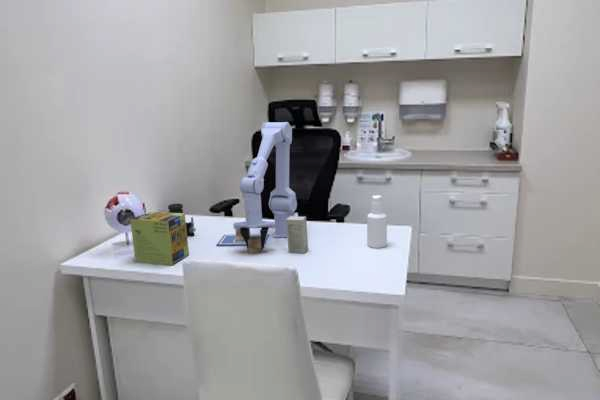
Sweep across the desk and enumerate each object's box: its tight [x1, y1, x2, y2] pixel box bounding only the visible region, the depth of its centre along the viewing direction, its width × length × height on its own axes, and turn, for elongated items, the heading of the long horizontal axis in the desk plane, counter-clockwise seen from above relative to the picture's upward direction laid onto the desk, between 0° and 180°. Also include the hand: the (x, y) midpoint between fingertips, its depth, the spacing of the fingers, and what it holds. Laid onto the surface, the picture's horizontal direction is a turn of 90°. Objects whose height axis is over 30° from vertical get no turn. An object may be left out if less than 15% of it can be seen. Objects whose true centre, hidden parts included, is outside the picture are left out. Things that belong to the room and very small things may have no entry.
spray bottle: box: [366, 195, 388, 249], centre depth 165 cm, size 7×7×18 cm
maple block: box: [234, 228, 251, 241], centre depth 177 cm, size 4×4×5 cm
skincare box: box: [286, 216, 309, 254], centre depth 163 cm, size 6×4×12 cm
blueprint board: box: [216, 233, 270, 247], centre depth 178 cm, size 18×12×1 cm, turn 85°
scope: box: [167, 203, 197, 238], centre depth 182 cm, size 8×14×10 cm
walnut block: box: [248, 236, 264, 255], centre depth 165 cm, size 4×4×5 cm
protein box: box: [129, 211, 190, 266], centre depth 161 cm, size 10×15×16 cm
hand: (255, 247), depth 165 cm, fingers closed on walnut block, 4 cm apart
